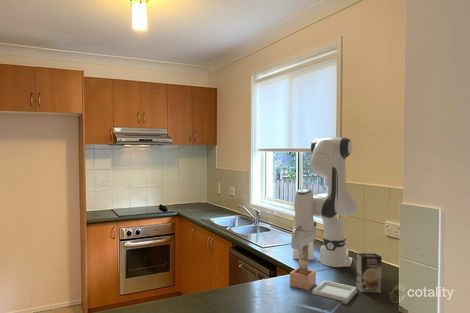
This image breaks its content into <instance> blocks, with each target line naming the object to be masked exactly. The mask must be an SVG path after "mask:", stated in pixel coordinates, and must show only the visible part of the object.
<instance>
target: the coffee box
mask: <svg viewBox="0 0 470 313" xmlns="http://www.w3.org/2000/svg"><path fill="white" fill-rule="evenodd" d="M356 256H357V257H356V276H355V277H356V281H355V282H356V283H355V287H357V291H359V292H360V293H381V291H382V290H381V288H382V286H381V285H382V261H383V260H382V256H381V255H379V254H377V253H371V252H370V253H365V252H363V253H362V252H357V253H356Z"/></svg>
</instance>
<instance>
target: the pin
mask: <svg viewBox="0 0 470 313" xmlns="http://www.w3.org/2000/svg"><path fill="white" fill-rule="evenodd" d="M303 252H304V255H303V256H299V259H298V268H299V272H300V273H308V270H309V267H308V266H309V264H308V263H309V259H308V246H304V247H303Z"/></svg>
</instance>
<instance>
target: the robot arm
mask: <svg viewBox="0 0 470 313" xmlns="http://www.w3.org/2000/svg"><path fill="white" fill-rule="evenodd" d="M352 150H353V144H352V141H351V139H350V138H347V137H338V136H337V137H336V136H333V137H331V136H330V137H323V138H321V137H318V138H315V139H314V140H312V142H311V143H310V151H311V152H310V153H311V157H310V163H309V167H310V169H311V171H312V172H313V173H314V174H315V175H317V176H318V177H321V178H323V179H324V183H325V185H326V186H327V193H319V194H313V191H312V189H308V188H303V189H298V190H297V191H296V192H295V196H294V201H293V202H294V206H293V207H294V208H293V209H294V218H293V219H294V221H293V226H294V228H295V231H294V232H293V231H292V233H291V242H290V243H291V245H290V246H291V249H292V248H293V249H298V252H299V256H303V255H304V252H303V247H304V246H308V248H309V243H311V242H313V243H314V241H315V240H316V235H317V234H316V232H317V228H316V227H317V226H318V224H317V221H315V220H314V216H315V217H320V218H321V220H322V222H323V238H322V245H321V246H320V248H319V249H320V250H319V251H320V252H319V258H317V259H316V261H317V262H320V264H322V265H324V266H326V267H327V266H328V267H333V268H342V267H343V268H344V267H348V268H349V267H352V266H351V265H352V262H353V257H349V249H348V248H347V246H346V240H347V239H346V237H345V224H344V223H343V222H342V221H341V220H339V218H338V216H353V215H354V214H355V213H356V211H357V210H358V203H357V200H356V198H354V197H353V196H352V195H351V194H350V191H349V190H348V187H347V183H346V170H347V169H346V159H347V158H348V157H349V156H350V155H351V153H352ZM337 215H338V216H337Z"/></svg>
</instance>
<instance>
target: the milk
mask: <svg viewBox="0 0 470 313" xmlns="http://www.w3.org/2000/svg"><path fill="white" fill-rule="evenodd" d="M292 228H293V229H292V233H293V232H294V231H295V228H294V225H293V227H292ZM291 257H292V259H294V260H299V252H298V249H293V248H292V247H291ZM314 257H315V256H314V241H313V242H311V243H309V248H308V260H309V261H310V260H314V259H315V258H314Z"/></svg>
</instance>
